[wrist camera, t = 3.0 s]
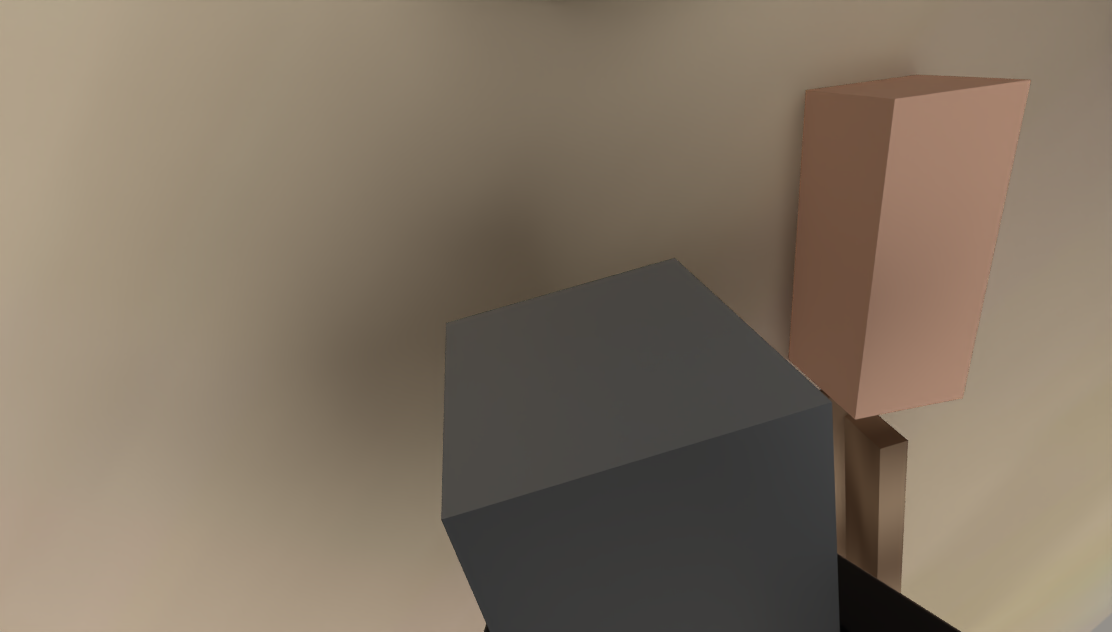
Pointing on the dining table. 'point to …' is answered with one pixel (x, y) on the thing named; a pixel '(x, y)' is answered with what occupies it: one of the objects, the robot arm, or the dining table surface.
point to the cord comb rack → (869, 493)
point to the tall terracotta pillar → (899, 234)
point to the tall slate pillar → (637, 465)
